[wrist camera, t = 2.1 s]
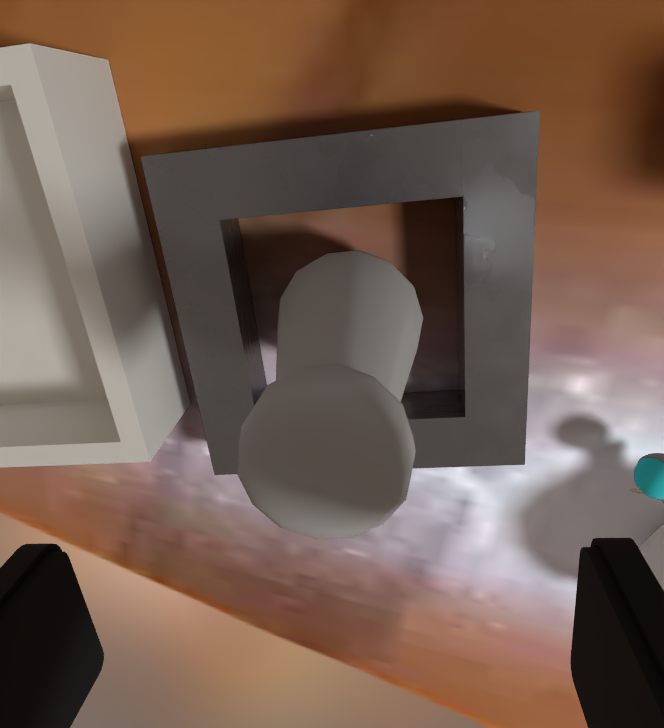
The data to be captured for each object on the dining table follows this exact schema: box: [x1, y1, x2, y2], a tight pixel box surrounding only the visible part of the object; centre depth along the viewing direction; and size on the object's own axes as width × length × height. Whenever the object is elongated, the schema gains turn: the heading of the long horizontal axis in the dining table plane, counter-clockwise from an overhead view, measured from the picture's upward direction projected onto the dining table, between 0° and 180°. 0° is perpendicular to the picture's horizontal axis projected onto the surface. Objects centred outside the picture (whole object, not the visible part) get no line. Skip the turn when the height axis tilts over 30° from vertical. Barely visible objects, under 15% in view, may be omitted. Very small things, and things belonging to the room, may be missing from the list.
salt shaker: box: [237, 250, 423, 539], centre depth 18 cm, size 6×6×13 cm
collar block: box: [141, 111, 540, 475], centre depth 23 cm, size 14×14×2 cm
